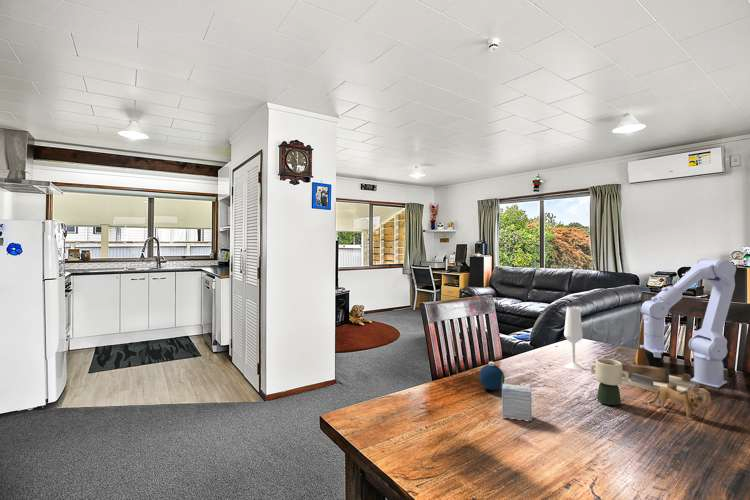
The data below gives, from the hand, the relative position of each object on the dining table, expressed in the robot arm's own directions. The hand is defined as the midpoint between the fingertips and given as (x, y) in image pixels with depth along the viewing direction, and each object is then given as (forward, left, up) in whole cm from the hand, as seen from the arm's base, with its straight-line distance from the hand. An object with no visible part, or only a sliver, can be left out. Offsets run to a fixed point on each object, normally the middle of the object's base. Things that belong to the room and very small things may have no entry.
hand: (653, 372), depth 134 cm
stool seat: (+1, 0, -3) cm, 4 cm away
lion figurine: (+23, +15, -4) cm, 28 cm away
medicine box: (+64, -10, -4) cm, 65 cm away
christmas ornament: (+53, -28, -4) cm, 60 cm away
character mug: (+32, 0, -4) cm, 32 cm away
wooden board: (+4, -2, -2) cm, 4 cm away
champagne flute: (+7, -25, -4) cm, 26 cm away
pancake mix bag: (-21, -9, -4) cm, 23 cm away
